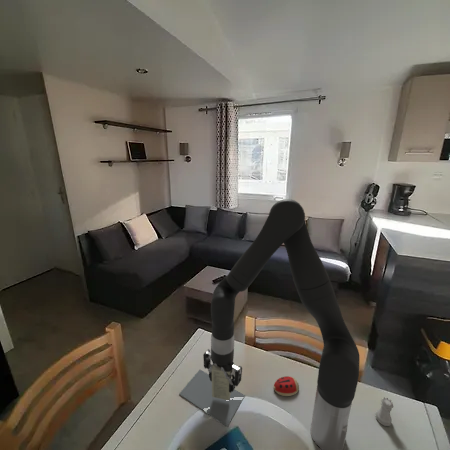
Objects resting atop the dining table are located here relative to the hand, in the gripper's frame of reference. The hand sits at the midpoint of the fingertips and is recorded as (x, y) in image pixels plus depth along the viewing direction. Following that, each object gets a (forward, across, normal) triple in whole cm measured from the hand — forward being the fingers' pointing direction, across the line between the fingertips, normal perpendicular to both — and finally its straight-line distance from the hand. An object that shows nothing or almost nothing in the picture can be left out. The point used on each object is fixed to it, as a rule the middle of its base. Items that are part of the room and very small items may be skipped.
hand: (221, 384), depth 80 cm
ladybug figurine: (+8, -18, -17) cm, 26 cm away
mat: (+7, +4, 0) cm, 8 cm away
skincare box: (+4, 0, 0) cm, 4 cm away
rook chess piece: (+7, -48, -23) cm, 54 cm away
